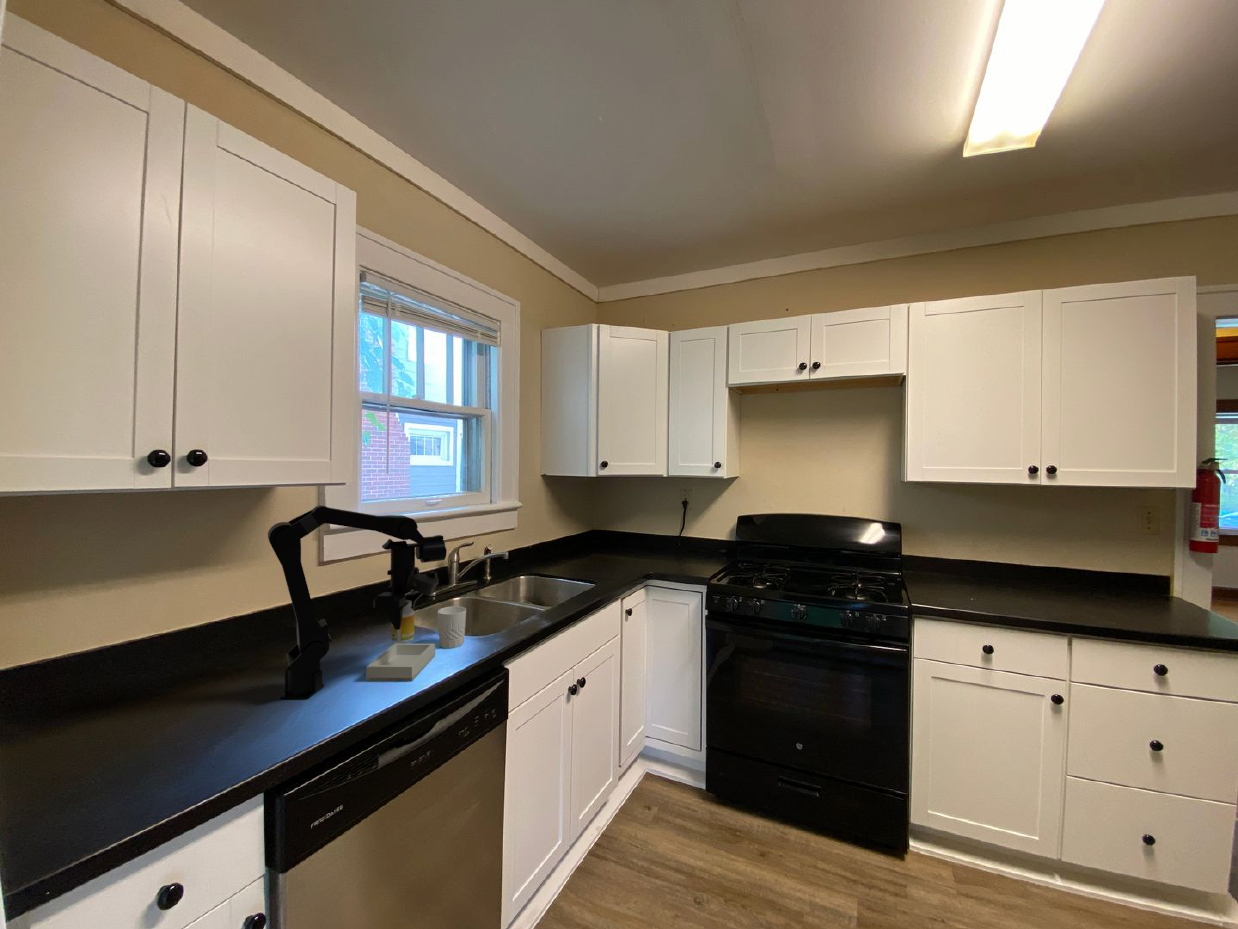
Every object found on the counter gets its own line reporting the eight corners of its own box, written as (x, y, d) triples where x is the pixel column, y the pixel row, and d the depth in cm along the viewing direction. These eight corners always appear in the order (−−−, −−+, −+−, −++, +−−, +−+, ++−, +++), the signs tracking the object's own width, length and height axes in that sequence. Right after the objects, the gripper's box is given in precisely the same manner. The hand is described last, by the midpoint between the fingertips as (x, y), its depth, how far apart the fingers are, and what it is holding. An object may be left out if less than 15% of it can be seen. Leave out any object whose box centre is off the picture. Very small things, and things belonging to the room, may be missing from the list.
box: (366, 681, 118) (366, 666, 118) (394, 656, 133) (394, 643, 133) (411, 681, 118) (412, 666, 118) (435, 656, 133) (435, 643, 133)
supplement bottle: (417, 636, 128) (417, 599, 128) (409, 643, 122) (409, 604, 122) (396, 636, 127) (397, 599, 128) (387, 643, 122) (387, 604, 122)
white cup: (454, 651, 137) (454, 615, 137) (431, 647, 139) (431, 612, 139) (471, 641, 144) (471, 607, 144) (449, 638, 147) (449, 605, 147)
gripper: (419, 573, 115) (419, 639, 116) (447, 558, 134) (447, 614, 134) (372, 573, 115) (372, 639, 116) (406, 557, 134) (406, 614, 134)
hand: (402, 625), depth 125 cm, fingers closed on supplement bottle, 5 cm apart
